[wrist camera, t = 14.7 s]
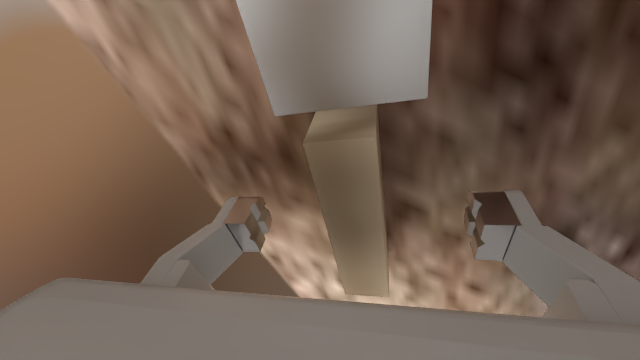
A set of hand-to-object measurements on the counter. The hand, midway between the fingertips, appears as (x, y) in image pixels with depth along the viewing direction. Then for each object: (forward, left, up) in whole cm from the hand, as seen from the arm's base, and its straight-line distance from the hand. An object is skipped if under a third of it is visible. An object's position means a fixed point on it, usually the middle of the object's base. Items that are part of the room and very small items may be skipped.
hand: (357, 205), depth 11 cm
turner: (0, -2, -3) cm, 3 cm away
